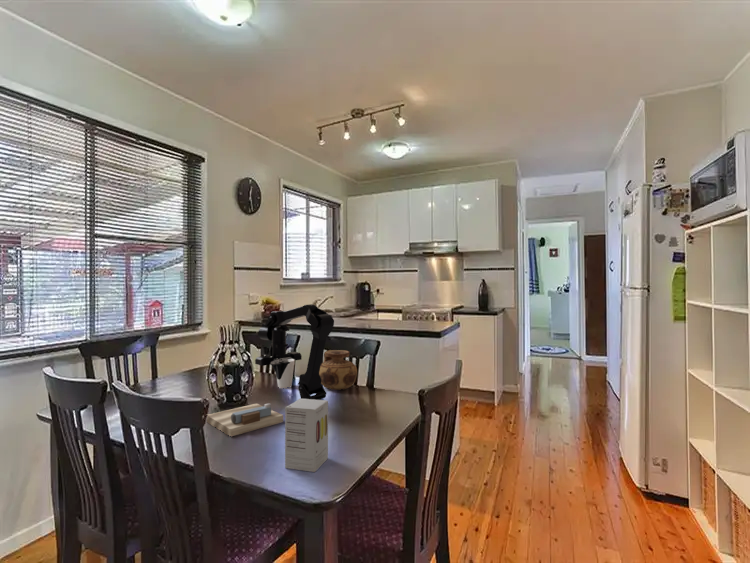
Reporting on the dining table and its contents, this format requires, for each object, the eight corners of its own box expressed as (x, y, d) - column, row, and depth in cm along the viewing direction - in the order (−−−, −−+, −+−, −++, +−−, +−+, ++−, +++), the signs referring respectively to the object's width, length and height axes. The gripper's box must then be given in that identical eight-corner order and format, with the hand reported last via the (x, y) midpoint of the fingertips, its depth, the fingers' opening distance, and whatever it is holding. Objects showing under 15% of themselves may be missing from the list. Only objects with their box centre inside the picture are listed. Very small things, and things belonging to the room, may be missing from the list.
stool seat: (283, 421, 145) (283, 415, 145) (230, 436, 131) (230, 429, 131) (256, 409, 160) (256, 403, 160) (206, 421, 146) (206, 415, 146)
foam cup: (291, 389, 190) (291, 362, 190) (272, 389, 190) (272, 362, 190) (296, 384, 200) (296, 358, 200) (277, 384, 200) (277, 358, 200)
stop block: (259, 420, 139) (259, 412, 139) (243, 425, 135) (243, 416, 135) (257, 419, 141) (257, 411, 141) (241, 423, 137) (241, 414, 137)
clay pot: (367, 379, 198) (359, 344, 191) (347, 402, 183) (338, 365, 176) (335, 374, 208) (327, 340, 201) (314, 396, 193) (304, 360, 186)
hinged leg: (268, 412, 147) (268, 402, 147) (272, 414, 145) (272, 404, 145) (230, 421, 138) (230, 411, 138) (234, 423, 136) (234, 413, 136)
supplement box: (315, 473, 106) (315, 409, 106) (284, 468, 109) (283, 407, 109) (329, 457, 115) (328, 399, 115) (299, 454, 118) (299, 397, 118)
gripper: (288, 337, 177) (288, 372, 177) (248, 341, 164) (248, 379, 164) (302, 339, 169) (302, 376, 169) (262, 344, 156) (262, 384, 156)
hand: (279, 379), depth 165 cm, fingers closed
